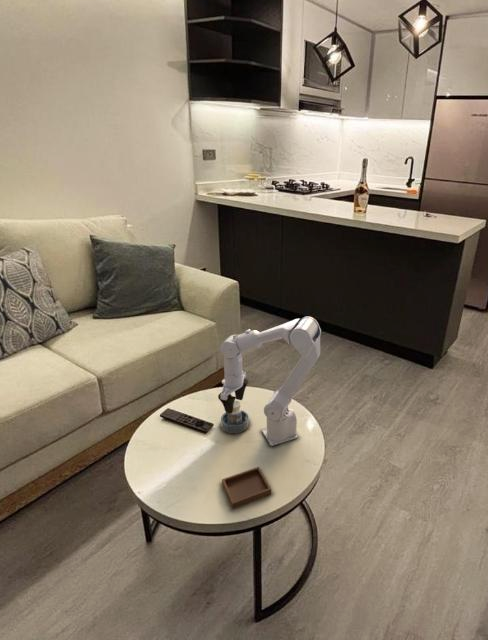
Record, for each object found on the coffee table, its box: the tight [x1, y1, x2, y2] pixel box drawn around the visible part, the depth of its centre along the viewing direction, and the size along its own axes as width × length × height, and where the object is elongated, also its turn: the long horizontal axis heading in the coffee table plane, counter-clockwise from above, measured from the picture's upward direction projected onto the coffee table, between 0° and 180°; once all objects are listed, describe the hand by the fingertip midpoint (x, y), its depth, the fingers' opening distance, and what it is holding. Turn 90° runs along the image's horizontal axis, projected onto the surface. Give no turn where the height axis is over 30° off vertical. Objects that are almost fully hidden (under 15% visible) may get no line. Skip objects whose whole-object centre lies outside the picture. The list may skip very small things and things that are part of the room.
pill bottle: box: [228, 400, 243, 426], centre depth 138 cm, size 5×5×8 cm
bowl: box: [220, 410, 250, 434], centre depth 139 cm, size 9×9×3 cm
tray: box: [221, 466, 272, 510], centre depth 114 cm, size 11×9×2 cm
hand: (234, 405), depth 136 cm, fingers open, 7 cm apart
